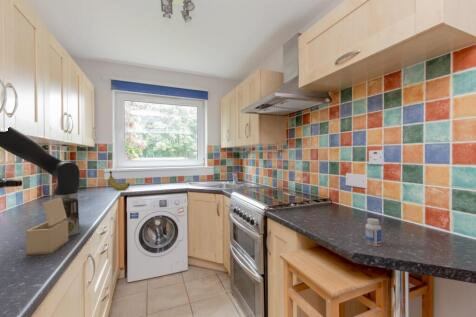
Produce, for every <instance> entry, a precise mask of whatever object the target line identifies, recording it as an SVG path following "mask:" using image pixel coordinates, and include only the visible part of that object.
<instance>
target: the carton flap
mask: <svg viewBox="0 0 476 317" xmlns="http://www.w3.org/2000/svg"><path fill="white" fill-rule="evenodd" d="M42 207H43V210H44V214H45V217H46V222H48V225H49V226H51V225H53V224H55V223H58V222H60V221H62V220H64V219H66V218H67V216H66V213H65V209H64V205H63V202H62V198H61V197H60V198H57V199H55V198H54V199H51V200H48V201H45V202H44V201H43V202H42Z"/></svg>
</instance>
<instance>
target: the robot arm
mask: <svg viewBox="0 0 476 317" xmlns="http://www.w3.org/2000/svg"><path fill="white" fill-rule="evenodd" d="M0 148H1V149H3V150H4V151H6V152H8V153H11V154H12V155H14V156H16V157H18V158H20V159H21V160H22V159H23V160H24V161H26V162H28V163H30V164H33V165H35V166H37V167H39V168H40V169H42V170H44V171H45V172H47V173H48V174H49V175H51V176H52V177H54V178H55V179H57V185H56V188H55V189H54V199H57V198H60V197H61V198H62V200H63V199H70V198H76V199H78V200H79V193H78V192H79V187H80V177H81V176H80V169H79V168H80V167H79V166H78V164H77V163H74V162H71V161H63V160H62V159H60V158H57V157H56V156H53V155H52V154H50V153H49V152H48V151H46V149H44V147H42V146H41V144H39V143H38V141H35V140H34V139H33V138H31V137H29V136H28V135H27V134H25V133H23V132H21V131H20V130H17V129H16V128H15V127H12V126H11V127H9V128H8V131H6V132H0ZM22 186H23V181H22V180H21V179H19V180H17V179H16V180H14V179H10V178H9V179H8V178H0V189H6V188H12V187H15V188H18V187H22Z"/></svg>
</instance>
